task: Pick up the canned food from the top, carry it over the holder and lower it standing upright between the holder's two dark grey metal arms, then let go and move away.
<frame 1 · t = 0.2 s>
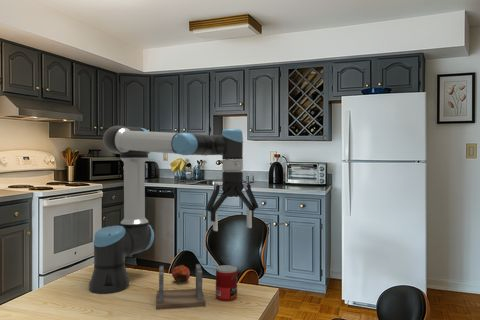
hand: (232, 229, 140), 26 cm above the table, tool pointing down, fingers open, 13 cm apart
holder: (180, 300, 139), on the table
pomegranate: (181, 282, 158), on the table
canned food: (226, 298, 142), on the table
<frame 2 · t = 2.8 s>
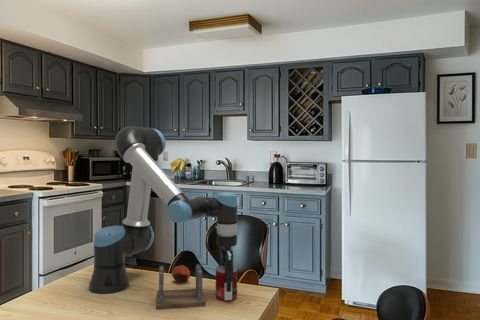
hand: (226, 295, 142), 1 cm above the table, tool pointing down, fingers closed on canned food, 8 cm apart
canned food: (226, 297, 142), on the table, touching gripper
everything else where it was.
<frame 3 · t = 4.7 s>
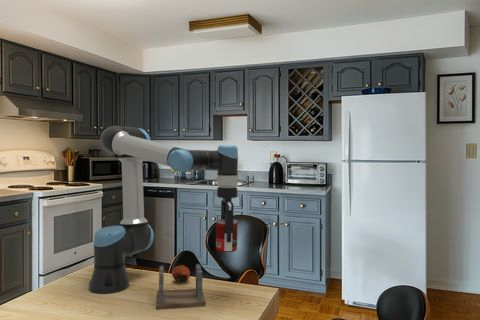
hand: (226, 247, 142), 18 cm above the table, tool pointing down, fingers closed on canned food, 8 cm apart
canned food: (226, 250, 142), point 18 cm above the table, touching gripper
everything else where it was.
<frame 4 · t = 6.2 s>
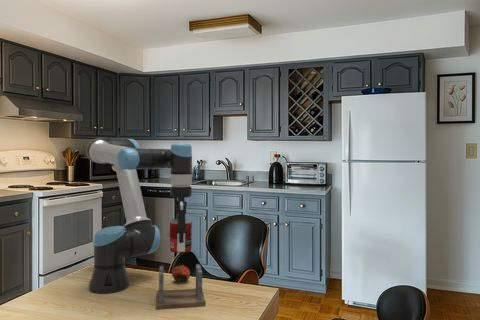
hand: (180, 248, 138), 19 cm above the table, tool pointing down, fingers closed on canned food, 8 cm apart
canned food: (180, 251, 138), point 18 cm above the table, touching gripper
everything else where it was.
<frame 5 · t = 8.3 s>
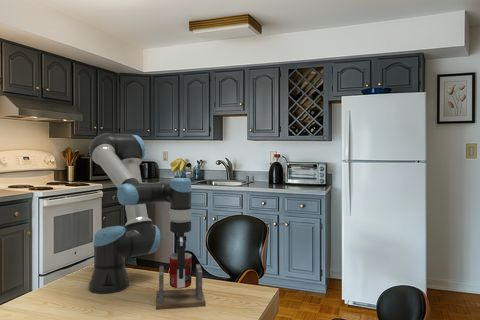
hand: (180, 283, 138), 6 cm above the table, tool pointing down, fingers closed on canned food, 8 cm apart
canned food: (180, 285, 138), point 5 cm above the table, touching gripper
everything else where it was.
when the fingers open (4 cm above the table, at t = 9.8 s): canned food drops 1 cm, resting on holder.
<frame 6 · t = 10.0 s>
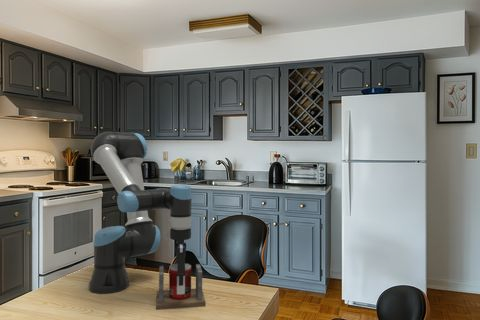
hand: (180, 288, 139), 4 cm above the table, tool pointing down, fingers open, 10 cm apart
canned food: (180, 296, 139), point 1 cm above the table, touching holder
everything else where it was.
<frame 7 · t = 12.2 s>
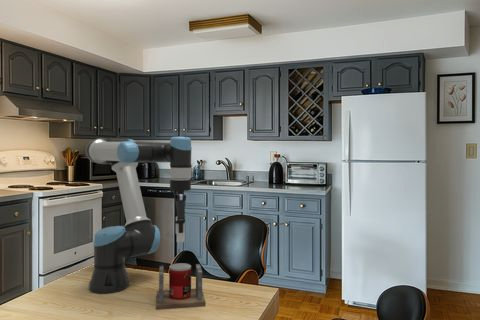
hand: (179, 237, 139), 23 cm above the table, tool pointing down, fingers open, 13 cm apart
nothing on the table moved.
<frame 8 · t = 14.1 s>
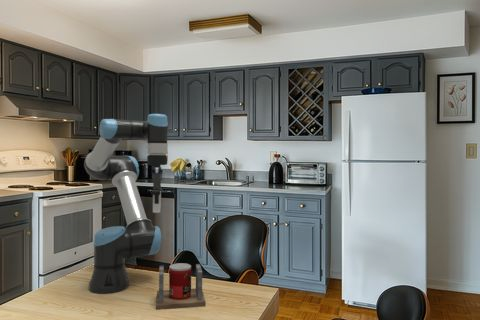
hand: (157, 209, 146), 32 cm above the table, tool pointing down, fingers open, 13 cm apart
nothing on the table moved.
at the end: canned food 0.1 cm off-centre on the holder, point 1.3 cm above the holder's base; canned food tilted 0°; the gripper is holding nothing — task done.
